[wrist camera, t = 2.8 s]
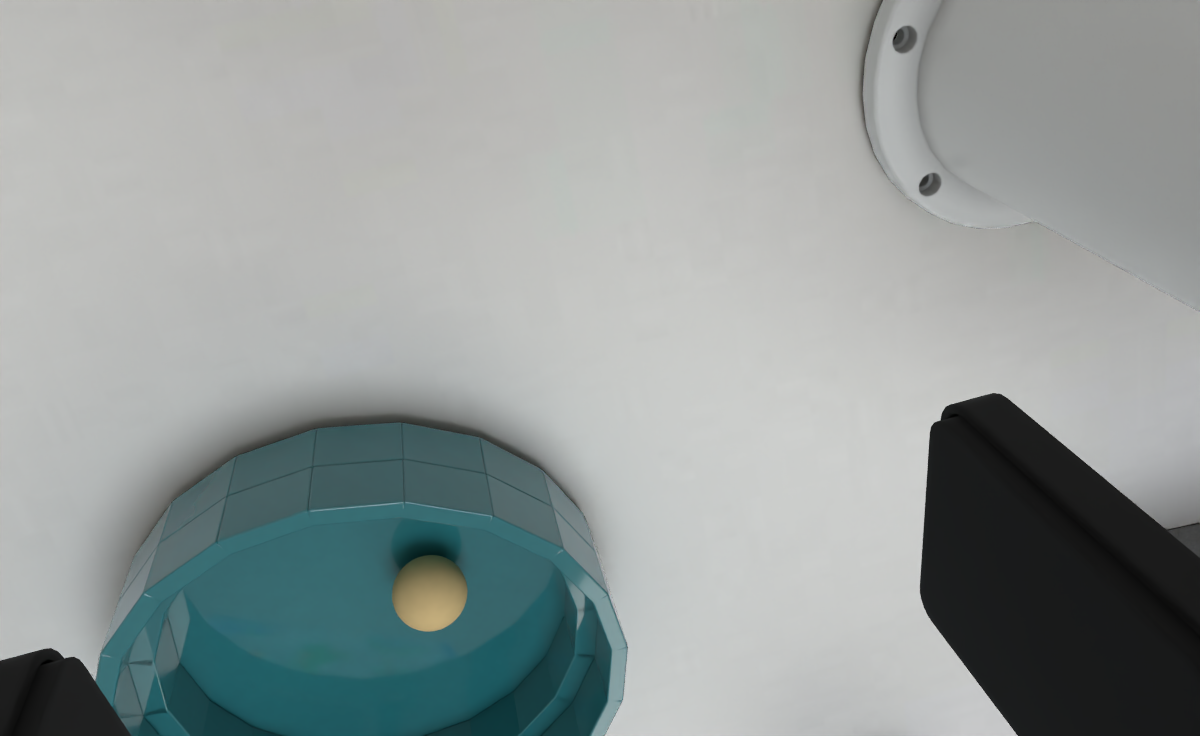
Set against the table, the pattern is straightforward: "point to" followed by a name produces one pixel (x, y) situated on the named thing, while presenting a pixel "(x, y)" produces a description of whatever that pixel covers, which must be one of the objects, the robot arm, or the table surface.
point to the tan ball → (429, 593)
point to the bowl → (365, 598)
